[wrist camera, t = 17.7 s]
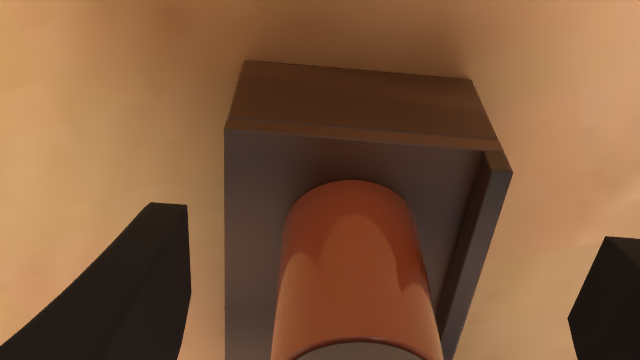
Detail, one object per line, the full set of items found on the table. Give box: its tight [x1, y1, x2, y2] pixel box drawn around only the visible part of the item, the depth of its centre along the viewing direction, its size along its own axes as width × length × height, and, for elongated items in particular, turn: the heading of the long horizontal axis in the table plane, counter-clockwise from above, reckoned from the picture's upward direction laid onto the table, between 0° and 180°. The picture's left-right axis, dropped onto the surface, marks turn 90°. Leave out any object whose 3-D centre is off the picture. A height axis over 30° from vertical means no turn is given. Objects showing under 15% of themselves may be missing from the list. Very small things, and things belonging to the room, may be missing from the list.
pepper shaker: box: [270, 180, 444, 360], centre depth 15 cm, size 4×4×6 cm
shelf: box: [224, 61, 513, 360], centre depth 22 cm, size 15×8×6 cm, turn 175°
